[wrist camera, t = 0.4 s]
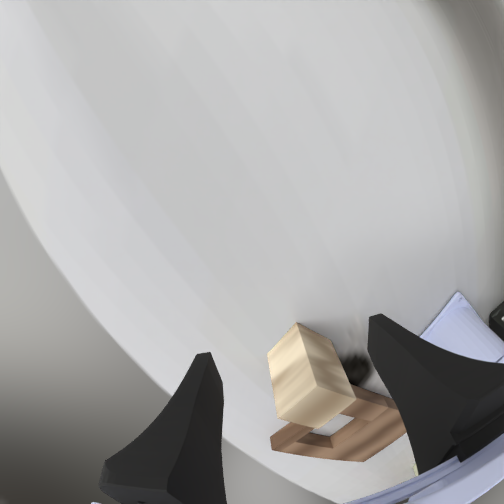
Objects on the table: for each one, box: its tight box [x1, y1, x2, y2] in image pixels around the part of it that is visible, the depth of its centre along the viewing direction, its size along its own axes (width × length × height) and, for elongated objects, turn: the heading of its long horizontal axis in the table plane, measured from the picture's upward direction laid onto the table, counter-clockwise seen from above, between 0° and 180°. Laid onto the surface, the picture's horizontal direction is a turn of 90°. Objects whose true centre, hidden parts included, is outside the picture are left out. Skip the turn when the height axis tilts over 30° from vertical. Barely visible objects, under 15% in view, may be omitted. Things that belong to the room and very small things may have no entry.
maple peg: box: [267, 322, 356, 429], centre depth 20 cm, size 4×4×7 cm
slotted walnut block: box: [270, 384, 407, 462], centre depth 29 cm, size 18×12×2 cm, turn 55°
